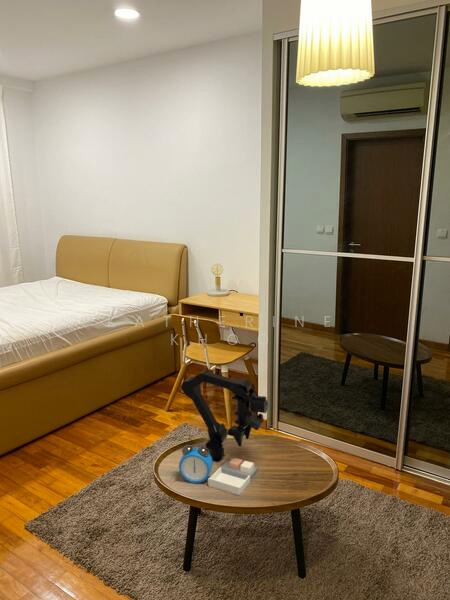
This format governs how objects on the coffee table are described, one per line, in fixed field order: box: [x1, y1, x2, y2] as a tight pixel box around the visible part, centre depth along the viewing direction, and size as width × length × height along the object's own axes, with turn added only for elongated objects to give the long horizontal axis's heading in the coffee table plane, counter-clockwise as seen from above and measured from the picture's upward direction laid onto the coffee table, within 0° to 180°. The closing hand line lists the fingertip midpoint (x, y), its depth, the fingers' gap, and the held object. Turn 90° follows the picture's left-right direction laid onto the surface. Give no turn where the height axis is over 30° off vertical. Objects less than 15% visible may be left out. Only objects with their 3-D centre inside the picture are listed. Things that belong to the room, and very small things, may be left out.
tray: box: [207, 466, 251, 496], centre depth 186 cm, size 14×10×4 cm
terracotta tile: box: [229, 457, 244, 470], centre depth 194 cm, size 4×4×2 cm
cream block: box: [241, 460, 255, 474], centre depth 192 cm, size 4×4×2 cm
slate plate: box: [220, 458, 259, 483], centre depth 194 cm, size 14×8×2 cm, turn 62°
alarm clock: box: [178, 444, 214, 484], centre depth 189 cm, size 13×6×15 cm, turn 79°
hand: (243, 442), depth 199 cm, fingers open, 7 cm apart
